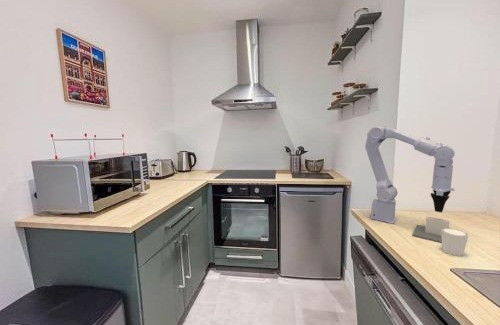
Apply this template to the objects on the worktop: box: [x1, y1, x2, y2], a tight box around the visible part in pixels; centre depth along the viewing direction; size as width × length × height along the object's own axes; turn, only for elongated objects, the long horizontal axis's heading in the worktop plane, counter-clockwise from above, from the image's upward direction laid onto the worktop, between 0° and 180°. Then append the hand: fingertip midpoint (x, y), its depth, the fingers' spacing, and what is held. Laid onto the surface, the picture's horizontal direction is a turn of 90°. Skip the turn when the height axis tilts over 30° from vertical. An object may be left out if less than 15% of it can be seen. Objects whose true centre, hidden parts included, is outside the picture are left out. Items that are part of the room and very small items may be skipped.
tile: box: [425, 216, 451, 236], centre depth 89 cm, size 7×2×6 cm, turn 47°
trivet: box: [411, 224, 442, 244], centre depth 89 cm, size 13×13×1 cm
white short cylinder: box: [441, 227, 469, 257], centre depth 77 cm, size 7×7×7 cm
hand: (439, 209), depth 92 cm, fingers open, 7 cm apart
